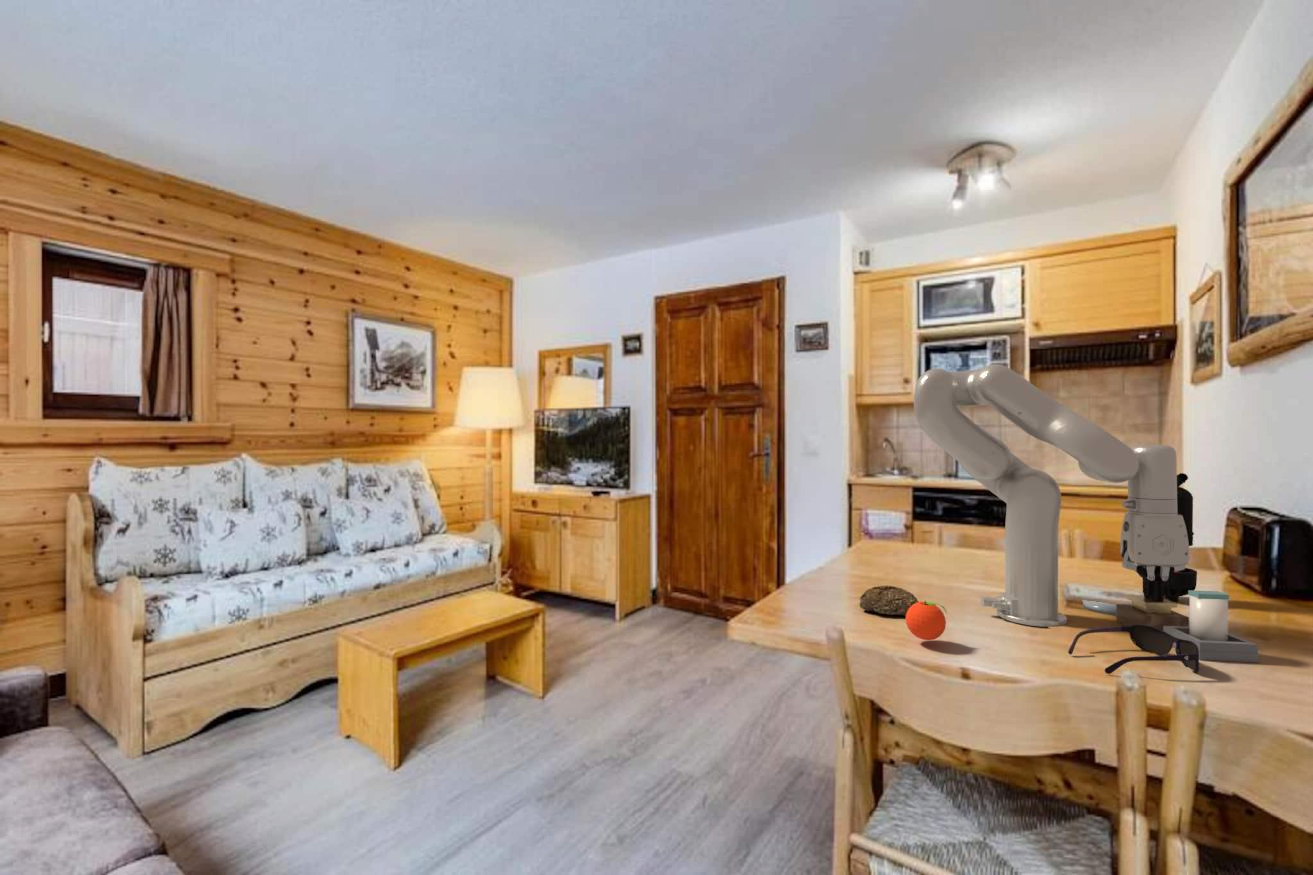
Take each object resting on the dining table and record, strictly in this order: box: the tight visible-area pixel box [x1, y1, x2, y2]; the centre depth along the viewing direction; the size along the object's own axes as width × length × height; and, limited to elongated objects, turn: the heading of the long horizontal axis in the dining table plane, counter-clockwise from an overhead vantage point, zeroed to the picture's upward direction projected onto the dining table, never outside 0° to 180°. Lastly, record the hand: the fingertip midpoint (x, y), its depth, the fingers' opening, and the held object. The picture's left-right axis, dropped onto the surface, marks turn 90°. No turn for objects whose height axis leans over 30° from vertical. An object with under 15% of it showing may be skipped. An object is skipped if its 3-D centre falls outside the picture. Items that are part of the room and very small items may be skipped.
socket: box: [1163, 626, 1260, 663], centre depth 105 cm, size 9×9×3 cm
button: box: [1126, 594, 1178, 615], centre depth 118 cm, size 6×6×3 cm
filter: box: [1164, 472, 1198, 603], centre depth 139 cm, size 14×9×30 cm
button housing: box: [1115, 604, 1189, 631], centre depth 118 cm, size 8×8×4 cm
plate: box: [1082, 599, 1116, 616], centre depth 131 cm, size 10×10×1 cm
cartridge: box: [1187, 590, 1230, 641], centre depth 105 cm, size 5×5×9 cm
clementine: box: [905, 600, 948, 641], centre depth 112 cm, size 8×7×7 cm
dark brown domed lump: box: [859, 585, 920, 617], centre depth 133 cm, size 13×12×5 cm
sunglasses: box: [1068, 624, 1200, 675], centre depth 101 cm, size 14×16×5 cm
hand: (1153, 598), depth 118 cm, fingers closed
